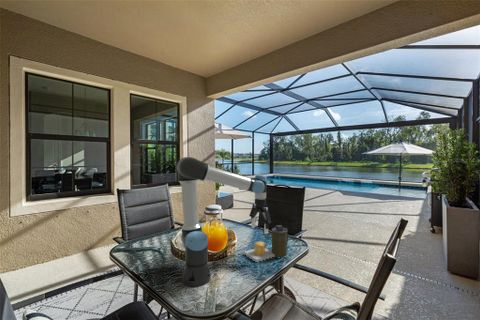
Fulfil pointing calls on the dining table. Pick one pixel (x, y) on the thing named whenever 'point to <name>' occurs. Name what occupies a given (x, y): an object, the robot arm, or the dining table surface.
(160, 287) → the dining table surface
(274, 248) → the canister
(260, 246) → the tan wooden cylinder
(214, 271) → the dining table surface
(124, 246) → the dining table surface
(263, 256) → the board
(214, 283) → the dining table surface
